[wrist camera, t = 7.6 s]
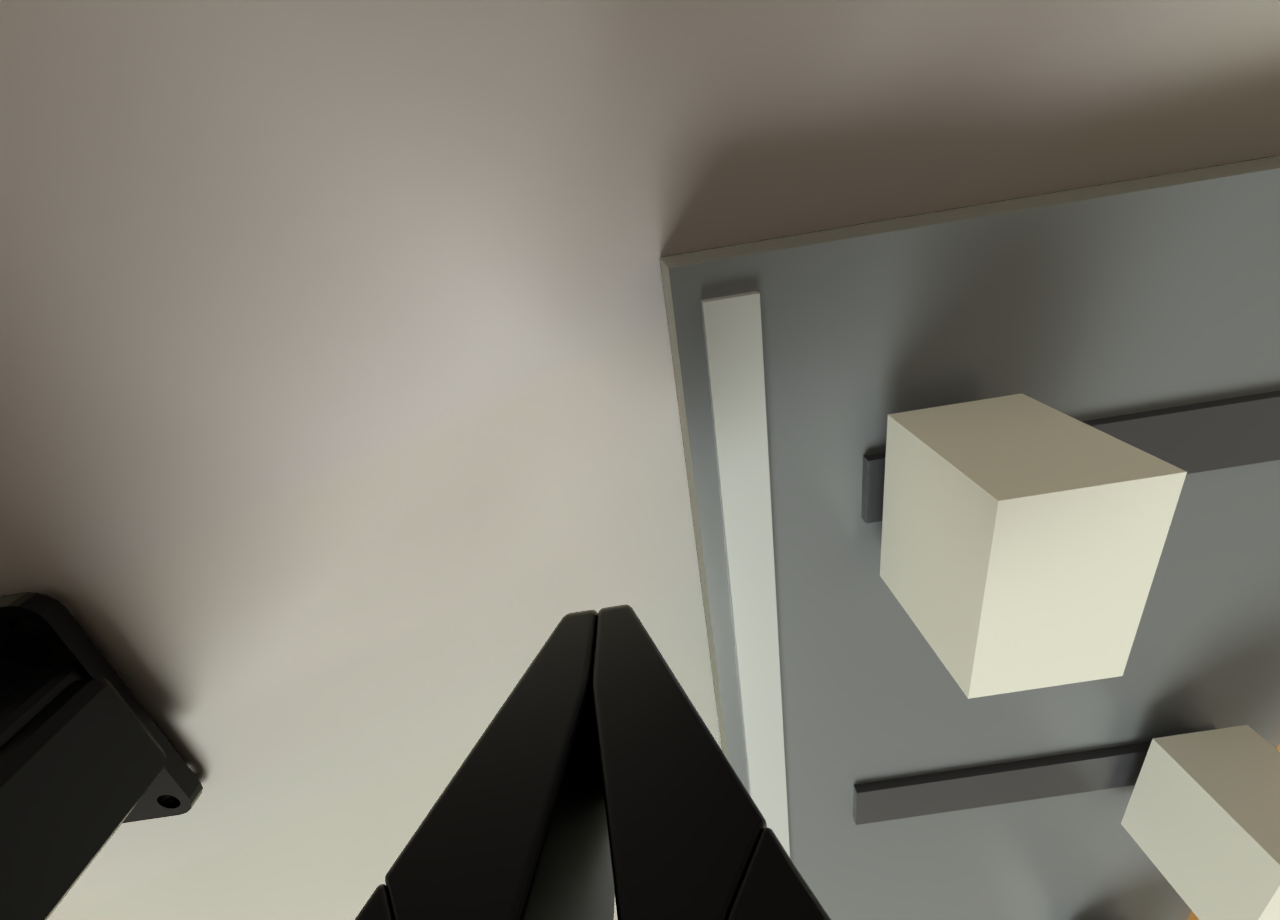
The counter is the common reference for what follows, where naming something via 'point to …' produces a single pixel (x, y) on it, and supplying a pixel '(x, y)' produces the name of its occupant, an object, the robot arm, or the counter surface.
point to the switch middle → (1212, 820)
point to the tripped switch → (1021, 540)
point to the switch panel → (853, 512)
